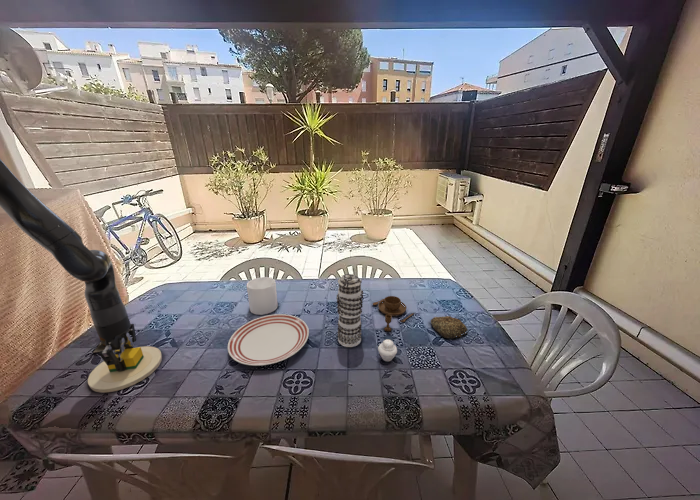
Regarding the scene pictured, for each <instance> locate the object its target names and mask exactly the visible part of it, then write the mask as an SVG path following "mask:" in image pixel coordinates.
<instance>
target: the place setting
mask: <svg viewBox="0 0 700 500" xmlns="http://www.w3.org/2000/svg"><path fill="white" fill-rule="evenodd" d="M382 302H383V303H382ZM401 303H402V304H403V305H404V306H405V307H404V306H403V305H402V304H401ZM372 305H373V306H377V305H378V306H377V308H378V310H379V311H380V312H381V313H382V314H384V321H385V323H386V326H385V327H384V328H383V330H384V331H385V332H388V333H389V332H391V331H392V327H390V324H391V323H392V321H393V320H392V319H393V317H398V316H401V315H403V314H404V313H405V312H406V311H407V305H406V304H405V303H404V302H403V301H402V299H401V298H400V297H399V296H395V295H389V296H386V297H384V298H382V299H381V300H379V301H375V302H373V303H372ZM413 315H414V313H411V314H409V315H408V316H406V317H405V318H404V319H402V320H399V322H400V323H404V322H406V320H408V319H409V318H410V317H412V316H413Z"/></svg>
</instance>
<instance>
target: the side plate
mask: <svg viewBox="0 0 700 500" xmlns="http://www.w3.org/2000/svg"><path fill="white" fill-rule="evenodd" d="M138 347H139V346H137V347H136V348H138ZM140 347H141V350H142V353H143V356H144V358H143V359H142V360H141V362H140V363H139V365H138V366H137V368H134V369H128V370H125V371H121V372H118V371H114V372H110V371H109V368H108V366H107V364H106V363H105V362H104V360H103V361H102V362H100V363H99V364H98V365H97V366H96V367H94V368H93V369H92V371H91V372H90V374H89V375H88V377H87V384H88V387H89V389H91V391H93V392H96V393H101V394H102V393H112V392H117V391H122V390H124V389H127V388H129V387H132V386H134V385H136V384H138V383H139V382H142V381H143V380H145V379H146V378H148V377H149V376H151V375H152V374H153V373H154V372H155V371H156V370H157V369H158V368H159V366H160V365H161V364H162V361H163V355H162V352H161V350H160V349H159V348H157V347H155V346H150V345H149V346H148V345H146V346H140Z"/></svg>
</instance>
